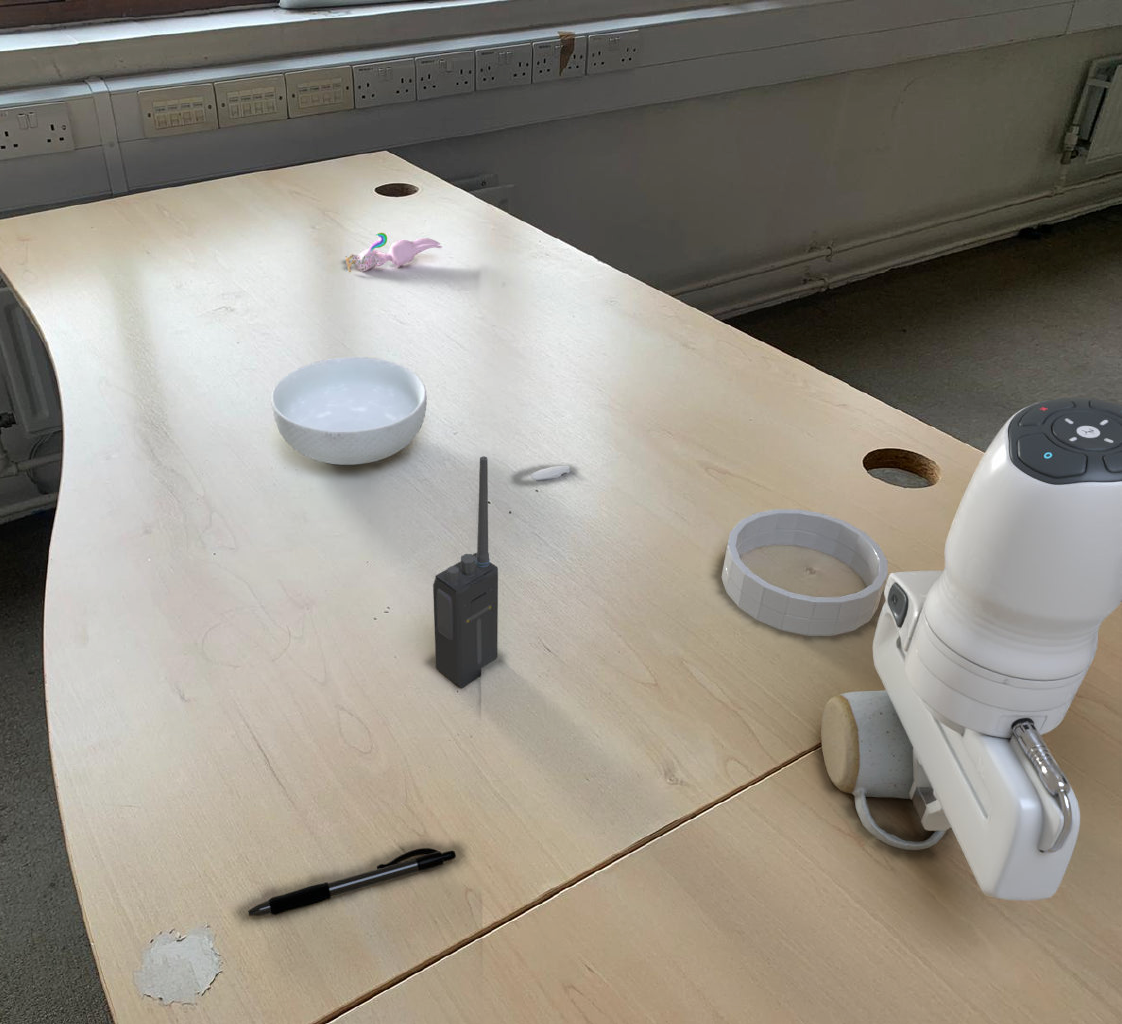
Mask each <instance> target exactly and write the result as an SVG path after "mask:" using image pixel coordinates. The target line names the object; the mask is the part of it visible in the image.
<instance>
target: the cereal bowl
mask: <svg viewBox="0 0 1122 1024" xmlns="http://www.w3.org/2000/svg"><path fill="white" fill-rule="evenodd" d="M427 397H428V396H427V389H426V385H425V383H424V381H423V380H422V378H421V377H420V376H419V375H418V374H417V373H415V372H414V371H412V370H411V369H410V368H409V367H406V366H404V365H402V364H399V363H397V362H394V361H390V360H387V359H382V358H377V357H367V356H344V357H333V358H328V359H323V360H319V361H315V362H311V363H308V364H306V365H303V366H301V367H298V368H296V369H294V370H293V371H291V372H289V373H288V374H286V375H285V376H284V377H282V378H281V379H280V380H279V381H278V382H277V383H276V385H275V386H274V388H273V389H272V392H271V396H270V404H271V410H272V416H273V418H274V419H273V420H274V422H275V426H276V428H277V430H278V433H279V435H280V436H281V437H282V438H283V439H284V441H285V442H286V443H287V444H288V446H290V447H291V448H292V449H293V450H295V451H296V452H298V453H299V454H301V455H303V456H305V457H307V458H308V459H312V460H314V461H317V462H321V463H325V464H331V465H340V466H342V465H343V466H346V465H347V466H351V465H352V466H353V465H363V464H368V463H373V462H377V461H380V460H383V459H386V458H389V457H390V456H393V455H395V454H397V453H398V452H400V451H401V450H403V449H404V448H406V447H407V446H408V445H409V444H410V443H411V442H412V441H413V440H414V439H415V438H416V437H417V435H418V434H419V432H420V430H421V428H422V425H423V423H424V420H425V417H426V412H427V405H428V404H427V402H428V401H427V400H428V398H427Z"/></svg>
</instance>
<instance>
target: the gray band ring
mask: <svg viewBox="0 0 1122 1024" xmlns="http://www.w3.org/2000/svg"><path fill="white" fill-rule="evenodd" d="M767 546H796V547H801V548H806V549H812V550H815V551H818V552H820V553H823V554H826V555H829V556H832V557H834V558H835V559H837V560H838V561H840V562H842V563H843V564H845V565H847V566H849V567H850V568H851V569H852V570H853V571H854V572H855V573H856V574H857V575H858V576H859V577H860V578H861V579H862V581H863V583H864V584H865V588H863V589H862V590H860V591H858V592H854V593H850V594H846V595H840V596H812V595H807V594H802V593H797V592H792V591H789V590H787V589H784V588H781V587H779V586H776V585H774V584H772V583H770V582H768V581H767V580H764V579H763V578H761V577H760V576H759V575H757V574H756V573H754V572H753V571H751V569H749V567H748V566H747V565H746V564H745V562H743V560H742V559H741V558H740V557H741V556H742V555H744V554H746V553H748V552H750V551H752V550H754V549H758V548H763V547H767ZM725 550H726V551H725V555H724V562H723V566H722V572H721V580H722V583H723V586H724V590H725V592H726V594H727V595H728V596H729V598H730V599H731V600H732V601H733V602H734V604H735V605H736V606H737V607H738V608H739V609H741V611H743V612H744V613H746V614H748V615H749V616H751V617H752V618H753V619H754V620H756V621H758V622H761V623H763V624H765V625H768V626H769V627H773V628H775V629H776V630H780V631H784V632H788V633H793V634H797V635H803V636H815V637H817V636H822V637H826V636H827V637H829V636H831V637H832V636H837V635H840V634H847V633H850V632H854V631H856V630H857V629H859V628H861V627H863V626H864V625H866V624H868V623H869V622H870V621H871V620H872V618H873V616H874V615H875V613H876V611H877V610H878V608H879V605H880V601H881V598H882V595H883V592H884V590H885V585H886V582H887V579H888V576H889V562H888V558H887V556H886V555H885V553H884V551H883V550H882V548H881V546H880V544H878V542H876V541H875V540H874V539H873V538H872V537H871V536H870V535H869V534H868V533H867V532H865V531H863V530H861V529H860V528H858V527H856V526H855V525H853V524H851V523H849V522H847V521H845V520H843V519H841V518H838V517H834V516H831V515H828V514H826V513H822V512H818V511H812V510H806V509H800V508H775V509H769V510H764V511H758V512H755V513H752V514H751V515H749V516H747V517H744V518H742V519H741V520H739V521H738V522H737V524H736V525H735V526H734V527H733V528H732V529H731V530H730V532H729V536H728V541H727V546H726V549H725Z"/></svg>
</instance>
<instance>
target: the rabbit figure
mask: <svg viewBox="0 0 1122 1024" xmlns="http://www.w3.org/2000/svg"><path fill="white" fill-rule="evenodd" d="M375 236H378V237H379V238H378V239H377V240H375V241H373V242H372V243H371V245H370V247H368V248H367V249H364V250H362V251H361V252H360V253H359V254H353V253H352V254H351V255H350V256H349V257H348V256H347V255H345V256H344V257H345V262H346V265H347V270H348V273H349V274H351V273H352V268H351V266H352V265H355V267H356V269H357V270H358V271H359V272H362V273H364V272H367V271H369V270H370V269H373V268H375V266H376V267H380V266H382V265H385V263H387V261H391V264H392V265H394V266H396V268H400V267H401V266H404V265H405V264H407V263H411V262H412V261H413V260H414V258H415V256H417V255H418V254H420V253H422V252H424V251H426V250H429V249H432V248H434V249H435V248H436V249H442V248H443V247H442V245H441V242H439V241H437V240H435V239H433V238H429V237H423V238H422V237H421V238H417V239H414V240H411V241H410V240H408V239H399V240H396V241H394V242H393V243H391V245H390V247H389V251H388V252H386V253H385V252H383V251H381V250H377V248H382V247H384V246H385V245H386V244H387V242H388V236H387V234H386V233H384V232H378V233H376V234H375ZM351 259H353V260H352V261H351V262H350V260H351Z"/></svg>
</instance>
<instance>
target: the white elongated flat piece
mask: <svg viewBox="0 0 1122 1024" xmlns="http://www.w3.org/2000/svg"><path fill="white" fill-rule="evenodd" d="M570 472H571V466H570V465H567V464H563V465H555V466H548V467H544V468H542V469H539V470H537V471H534V472H533V473H531V475H530V476H529V477H530V479H532V480H535V481H536V482H548V481H552V480H555V479H557V478H560V477H562V475H564V474H569V473H570Z"/></svg>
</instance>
